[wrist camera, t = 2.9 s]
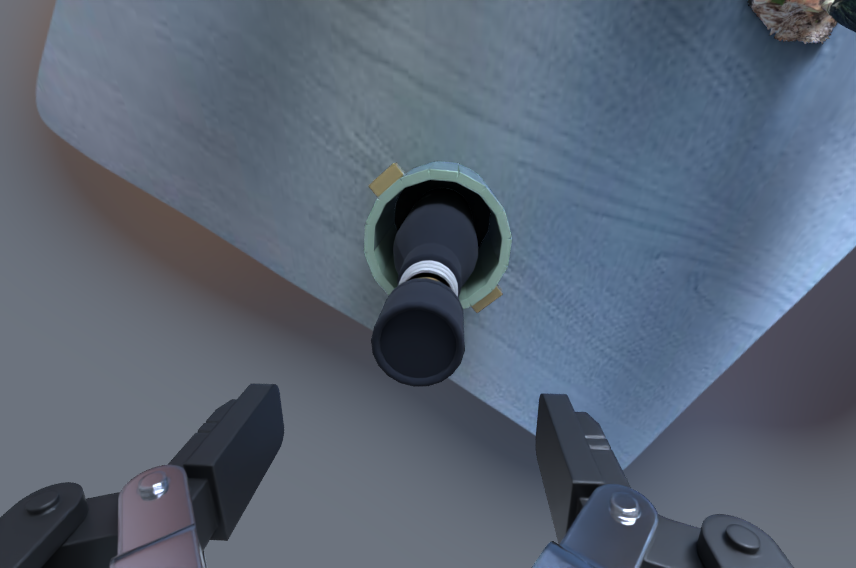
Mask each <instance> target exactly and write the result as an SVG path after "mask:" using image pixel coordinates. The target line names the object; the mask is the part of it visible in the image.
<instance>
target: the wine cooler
mask: <svg viewBox="0 0 856 568" xmlns="http://www.w3.org/2000/svg"><path fill="white" fill-rule="evenodd" d="M403 175H404V176H403ZM428 180H437V181H448V182H456V183H458V184H460V185H462V186H464V187H466V188H468V189H469V190H471V191H473V192H475V193H477V194H479V195H480V196H481V198H482V199H483V200H484V201H485V203H486V204H487V205H488V208H489V211H490V217H489V225H488V232H487V234H486V235H485V237H484V239H483V241H482V242H481V244H480V246H479V248H478V258H477V262H476V265H475V268H474V270H473V272H472V274H471V275H470V277H469V278H468V280H467V281H466V282H465V284H464V285H463V286H462V288H461V292H460V295H459V300H460V302H461V305H462V307H463V309H466V308H470V306H471V307H472V308H473V309H474V311H475V312H476V313H478V312H480V311H481V310H482V309H484V308H485V307H486V306H488V305H489V304H490V303H492V302H493V301H495V300H496V299H497V298H499V297H500V296H501V295H503V293H502V289H501V288H500V287H499V285H498V282H499V281H500V279H501V277H502V276H503V274H504V272H505V271H506V269H507V266H508V264H509V257H510V250H511V244H512V238H511V237H512V235H511V231H510V228H509V224H508V220H507V216H506V212H505V210H504V208H503V207H502V205H501V204H500V202H499V201H498V199H497V198H496V196H495V195H494V193H493V192H492V190H491V189H490V188H489V187H488V185H487V184H486V183H485V181H484V180H483V179H482V178H481V176H480V175H479V174H478V173H476V172H475V171H473V170H471V169H469V168H467V167H465V166H464V165H462V164H460V163H459V164H458V163H455V162H444V161H434V162H430V163H427V164H424V165H421V166H418V167H415V168H414V169H412V170H411V171H409V172H408V173H407V174H405V172H404V171H403V169H402V168H401V167H400V166H399V165H398V163H397V162H395V163H393V164H392V165H391V166H389V167H388V168H387V169H386V170H385V171H384V172H383V173H382V174H381V175H379V176H378V177H377V178H376V179H375V180H374V181H373V182H372V183H371V184H369V188H370V189H371V190H372V191H373V193H374V194H375V195H376V196H377V197H378V199H376V202H375V204H374V206H373V208H372V210H371V212H370V214H369V216H368V219H367V221H366V225H365V234H364V252H365V253H364V254H365V257H366V260H367V262H368V265H369V268H370V270H371V273H372V276H373V278H375V279H374V280H375V281H376V282H377V283H378V284H379V285H380V286H381V287H382V288H383V290H384V291H385V292H386V293H387V294H388V295H390V293H391V292H392V290H394V289H395V288H396V287H397V286H398V285H397V280H398V276H399V275H398V273H397V270H396V268H395V263H394V253H393V245H394V241H395V237H396V234H397V232H398V231H397V228H396V226H395V208H396V203H397V201H398V199H399V197H400V195H401V193H402V190H403V189H404V188H406V187H409V186H412V185H415V184H418V183H422V182H425V181H428Z"/></svg>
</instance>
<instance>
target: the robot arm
mask: <svg viewBox="0 0 856 568" xmlns="http://www.w3.org/2000/svg"><path fill="white" fill-rule="evenodd" d="M283 436H284V423H283V415H282V408H281V401H280V392H279V388H278V386H277V385H276V384H250V385H249V386H248V387H247V388H246V390H245V391H244V392H243V393H242V394H241V396H240V397H239V398H238V399H237V400H235V399H232V400H230V401H229V402H227V403H226V404H224V405H222V406H221V407H219V408H218V409H216V410H215V412H214V413H213V414H212V415H211V416H210V417H209V418H208V419H207V421H206V423H204V424H203V425H202V426H201V427H200V429H199V430H198V433H195V434H194V436H192V438H191V439H190V440H189V441H188V442H187V443H186V444H185V446H184V447H183V448H182V449H181V450H180V451H179V452H178V453H177V455H176V456H175V457H174V458H173V459H172V460H171V462H170V463H169V464H168V465H162V466H158V467H154V468H151V469H149V470H146V471H144V472H142V473H140V474H139V475H137V476H135V477H134V478H133V479H131V480H130V481H129V482H128V483H127V484H126V485H125V486H124V487H123V488H122V490H121V492H119V493H114V494H108V495H103V496H98V497H93V498H88V499H86V498H85V495H84V492H83V489H82V487H81V486H80V485H79V484H76V483H69V482H68V483H59V484H55V485H51V486H48V487H45V488H43V489H40V490H38V491H36V492H34V493H32V494H30V495H29V496H26V497H25V498H23V499H22V500H20V501H19V502H18V503H17V504H15V505H14V506H13V507H12V508H11V509H9V510H8V511H7V512H6V513H5V514H4V515H3V516H1V517H0V568H207V564H206V558H205V554H204V548H205V547H206V545H207V544H208V542H209V540H225V541H227V540H228V539H229V537H230V535H231V533H232V532H233V530H234V528H235V526H236V524H237V523H238V521H239V519H240V518H241V516H242V514H243V512H244V511H245V509H246V507H247V505H248V504H249V502H250V500H251V498H252V496H253V495H254V493H255V491H256V489H257V488H258V486H259V484H260V482H261V481H262V479H263V477H264V475H265V473H266V472H267V470H268V468H269V467H270V465H271V463H272V461H273V460H274V458H275V456H276V454H277V452H278V450H279V449H280V447H281V444H282V441H283ZM536 455H537V460H538V464H539V468H540V472H541V476H542V480H543V484H544V488H545V492H546V496H547V500H548V504H549V508H550V512H551V516H552V520H553V524H554V528H555V531H556V535H557V539H558V543H559V544H557V543H555V542H554V541H552V542H550V543H549V544H548V545H547V546H546V547H545V549H544V550H543V552H542V553H541V555H540V556H539V558H538V559H537V560H536V562H535V563H534V565H533V566H532V568H794V567H793V566H792V564H791V563H790V561H789V560H788V559H787V557H786V556H785V554H784V553H783V552H782V551H781V549H780V548H779V546H778V545H777V544H776V543H775V541H774V540H773V539H772V538H771V537H770V536H769V535H767V534H766V533H765V532H764V531H763V530H761V529H760V528H758V527H757V526H755V525H753V524H751V523H750V522H747V521H745V520H743V519H740V518H738V517H734V516H730V515H724V514H716V515H711V516H709V517H707V518H706V519H705V520H704V521H703V523H702V527H701V528H697V527H694V526H691V525H687V524H684V523H680V522H677V521H674V520H670V519H668V518H665V517H663V516H660V515H659V514H658V513H657V511H656V509H655V507H654V506H653V504H652V503H651V502H650V501H649V500H648V499H647V498H646V497H645V496H644V495H642V494H640V493H639V492H637V491H636V490H634V489H631V487H630V485H629V483H628V481H627V479H626V477H625V475H624V473H623V471H622V469H621V467H620V465H619V463H618V461H617V459H616V457H615V455H614V453H613V451H612V450H611V447H610V445H609V443H608V441H607V439H605V435H604V433H603V431H602V429H601V427H600V425H599V423H598V422H596V421H595V420H594V419H593V418H592V417H591V416H590V415H589V414H587V413H586V412H575V411H574V409H573V407H572V404H571V402H570V400H569V398H568V396H567V395H566V394H541V395H540V398H539V407H538V418H537V429H536Z"/></svg>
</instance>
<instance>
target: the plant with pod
mask: <svg viewBox="0 0 856 568" xmlns="http://www.w3.org/2000/svg"><path fill="white" fill-rule="evenodd" d="M748 3H749V5H748V6H750V7H751V8H752V9H753V10H754V13H756V14H757V16H758V17H759V18H760V20H762V21H763V23H764V24H765V25H766V26H767V29H768V30H769V29H770V28H771V27H772V28H771V32H770V35H772V34H773V33H775V32H776V31H777V32H776V34H775V37H774V38H775V39H777V40H779V41H781V40H782V39H783V42H784V41H786V40H787V41H788V42H790V41H793V40H795V41H796V40H798V41H799V42H801V41H803V42H804V43H805V44H806V42H808V43H810V42H812V43H813V40H814V42H815V43H817V42H818V43H819V41H820V42H821V43H822V44H823V41H826V39H830V38H829V37H828V36H830V35H831V34H830V32H832V28H833V27H835V26H836V24H837V22H838V23H840V24H841V25H843V26H845V27H846V28H848V29H850V30H852V31H854V32H856V0H748ZM753 10H752V11H753Z"/></svg>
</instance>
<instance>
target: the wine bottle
mask: <svg viewBox="0 0 856 568" xmlns="http://www.w3.org/2000/svg"><path fill="white" fill-rule="evenodd" d="M393 253H394V263H395V268H396V270H397V273H398V275H399V276H398V280H397V285H398V286H397V287H396V288H395V289H394V290H392V292H391V293H390V295H389V296H388V298H387V300H386V301H385V304H384V306H383V308H382V310H381V313H380V315H379V317H378V320H377V322H376V324H375V326H374V330H373V335H372V339H371V343H372V351H373V355H374V357H375V359H376V361H377V363H378V366H379V367H380V368H381V369H382V370H383V371H384V372H385V373H386V374H387V375H388V376H389V377H391V378H393V379H394V380H396V381H398V382H400V383H402V384H406V385H410V386H430V385H433V384H436V383H439V382H442V381H443V380H445V379H446V378H448V377H449V376H451V375H452V374H453V373H454V372H455V370H456V369H457V368H458V366H459V365H460V364H461V361H462V358H463V354H464V351H465V343H464V317H463V307H462V305H461V302H460V300H459V295H460V292H461V288H462V286H463V285H464V284H465V282H466V281H467V280H468V278H469V277H470V275H471V274H472V272H473V270H474V268H475V265H476V262H477V258H478V241H477V236H476V231H475V226H474V221H473V216H472V212H471V209H470V206H469V203H468V202H467V201H466V199H465V198H464V197H463V196H462V195H461V194H459V193H458V192H456V191H455V190H452V189H448V188H435V189H432V190H430V191H427V192H425V193H424V194H423V195H422V196H421V197H420V198H419V199H418V200H417V202H416V203H415V205H414V207H413V208H412V210H411V211H410V213H409V214H408V216H407V218H406V219H405V221H404V222H403V224H402V226H401V227H400V229H399V230H398V232H397V234H396V237H395V241H394V245H393Z"/></svg>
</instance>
